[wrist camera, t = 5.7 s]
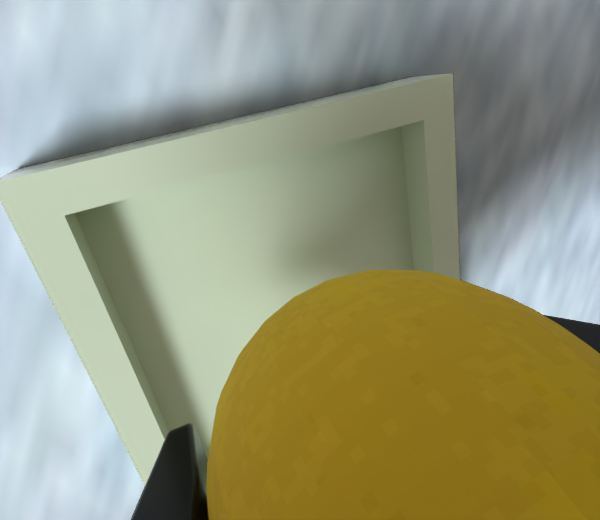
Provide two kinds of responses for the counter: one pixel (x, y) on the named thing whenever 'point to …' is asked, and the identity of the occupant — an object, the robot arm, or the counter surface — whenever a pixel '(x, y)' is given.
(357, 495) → the lemon
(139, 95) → the counter surface
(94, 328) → the dish
